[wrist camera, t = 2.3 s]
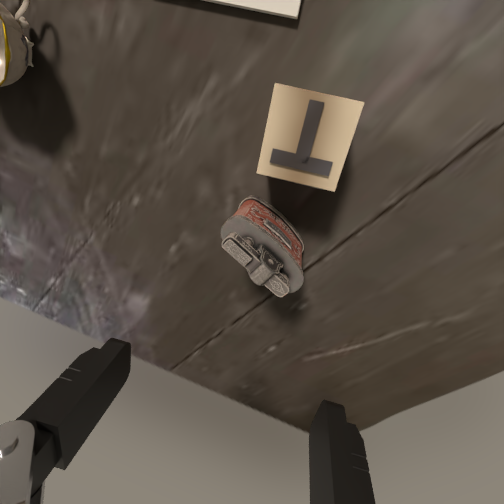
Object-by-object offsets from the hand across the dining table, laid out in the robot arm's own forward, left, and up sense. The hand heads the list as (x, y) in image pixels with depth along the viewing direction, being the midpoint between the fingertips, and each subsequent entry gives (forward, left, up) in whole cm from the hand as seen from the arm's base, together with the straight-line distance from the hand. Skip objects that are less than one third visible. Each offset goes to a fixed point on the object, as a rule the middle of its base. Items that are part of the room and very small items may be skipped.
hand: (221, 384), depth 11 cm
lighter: (0, 0, -20) cm, 20 cm away
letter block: (-1, -9, -20) cm, 22 cm away
